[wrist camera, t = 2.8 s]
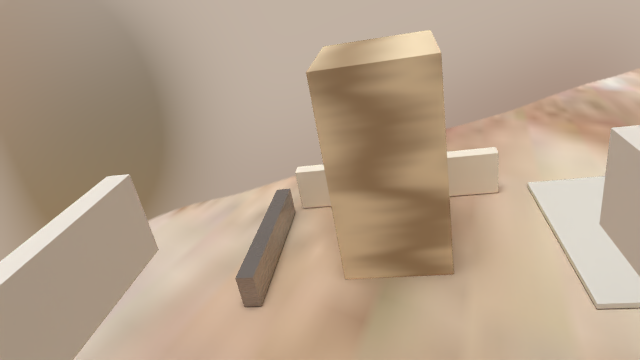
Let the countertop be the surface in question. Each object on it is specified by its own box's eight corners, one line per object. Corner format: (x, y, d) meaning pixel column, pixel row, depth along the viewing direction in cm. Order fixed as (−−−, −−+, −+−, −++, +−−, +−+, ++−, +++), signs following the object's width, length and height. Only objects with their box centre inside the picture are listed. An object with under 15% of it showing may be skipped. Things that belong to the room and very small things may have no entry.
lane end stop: (295, 212, 34) (290, 188, 33) (261, 306, 25) (253, 277, 24) (282, 213, 34) (276, 190, 33) (244, 306, 25) (235, 278, 24)
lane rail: (495, 185, 32) (495, 147, 31) (498, 192, 31) (498, 152, 30) (305, 201, 35) (297, 166, 34) (303, 208, 34) (295, 172, 33)
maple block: (442, 216, 30) (430, 29, 25) (453, 274, 25) (441, 52, 19) (352, 222, 31) (323, 46, 26) (345, 279, 26) (306, 72, 21)
